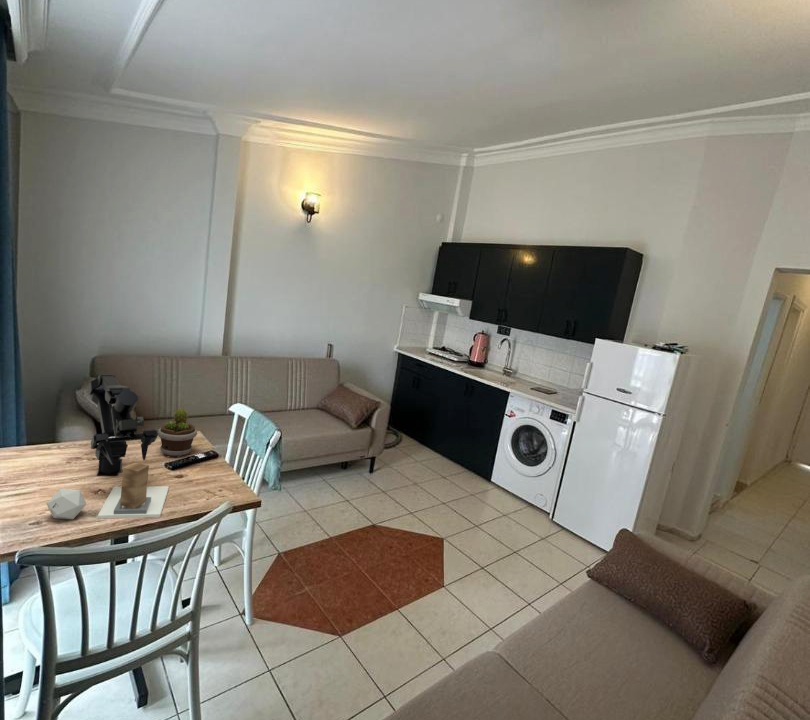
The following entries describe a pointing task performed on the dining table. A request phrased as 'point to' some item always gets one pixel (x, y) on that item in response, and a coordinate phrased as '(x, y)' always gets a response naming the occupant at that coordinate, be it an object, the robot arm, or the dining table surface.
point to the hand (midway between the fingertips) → (128, 461)
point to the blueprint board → (147, 509)
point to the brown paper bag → (134, 485)
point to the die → (66, 504)
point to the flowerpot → (177, 435)
